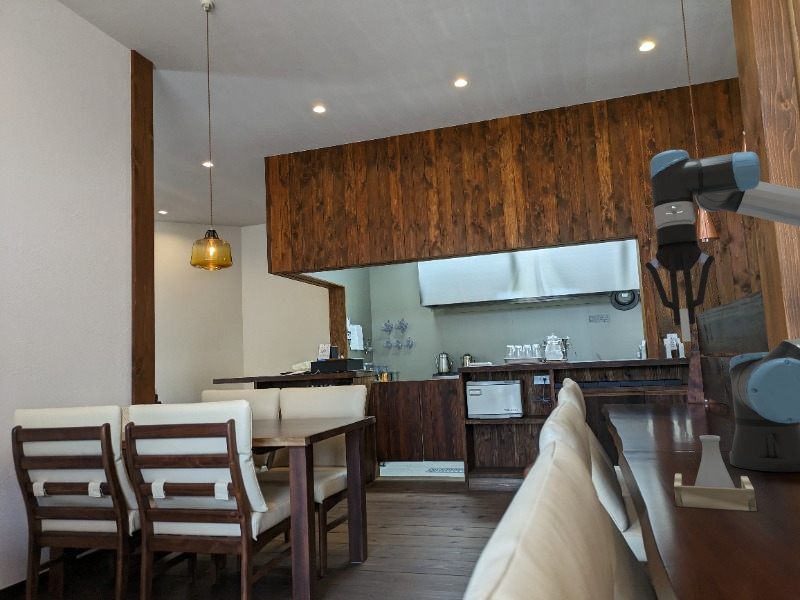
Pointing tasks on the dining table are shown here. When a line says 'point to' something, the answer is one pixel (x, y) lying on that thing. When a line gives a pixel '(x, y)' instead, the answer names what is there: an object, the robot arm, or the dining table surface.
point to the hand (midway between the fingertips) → (686, 341)
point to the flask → (712, 465)
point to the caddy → (715, 496)
